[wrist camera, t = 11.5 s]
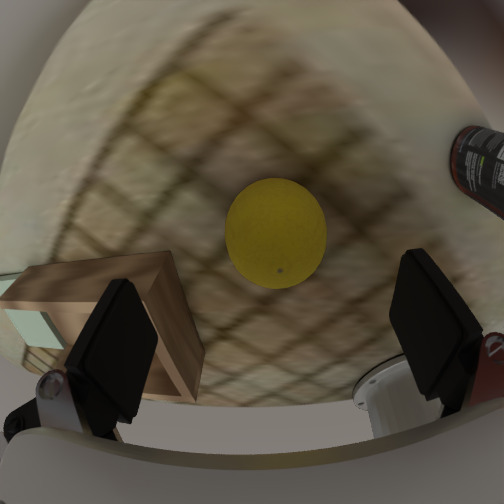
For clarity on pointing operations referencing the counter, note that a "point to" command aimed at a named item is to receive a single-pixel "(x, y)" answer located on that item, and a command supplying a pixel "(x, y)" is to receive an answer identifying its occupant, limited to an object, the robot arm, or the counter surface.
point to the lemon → (275, 233)
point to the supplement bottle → (480, 167)
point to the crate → (152, 296)
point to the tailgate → (33, 322)
